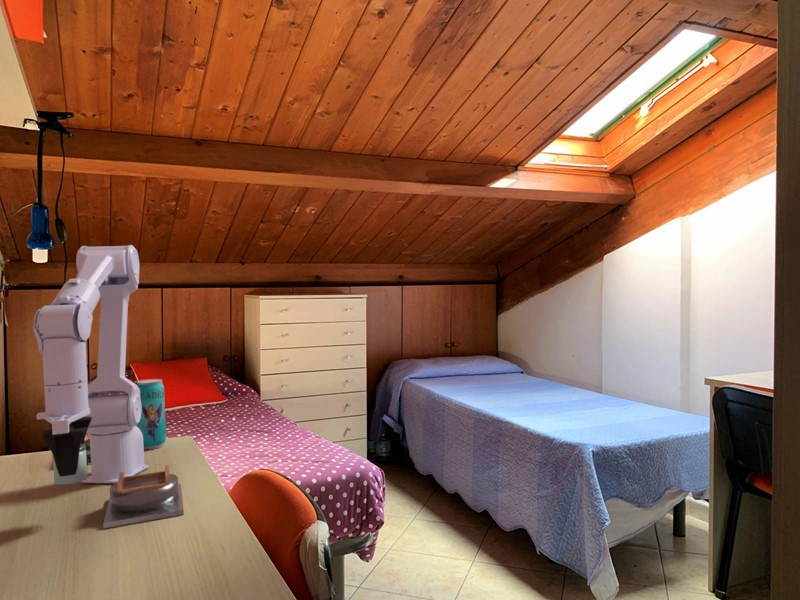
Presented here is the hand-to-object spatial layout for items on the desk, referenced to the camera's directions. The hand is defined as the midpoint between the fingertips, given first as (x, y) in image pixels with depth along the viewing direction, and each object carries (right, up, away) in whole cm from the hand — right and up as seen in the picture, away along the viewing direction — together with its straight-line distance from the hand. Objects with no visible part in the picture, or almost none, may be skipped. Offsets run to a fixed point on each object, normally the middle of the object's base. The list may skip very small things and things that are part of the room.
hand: (70, 470), depth 86 cm
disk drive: (-16, -8, +35) cm, 40 cm away
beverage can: (-5, -7, +40) cm, 41 cm away
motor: (+10, -7, +4) cm, 13 cm away
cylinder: (0, -1, 0) cm, 1 cm away
